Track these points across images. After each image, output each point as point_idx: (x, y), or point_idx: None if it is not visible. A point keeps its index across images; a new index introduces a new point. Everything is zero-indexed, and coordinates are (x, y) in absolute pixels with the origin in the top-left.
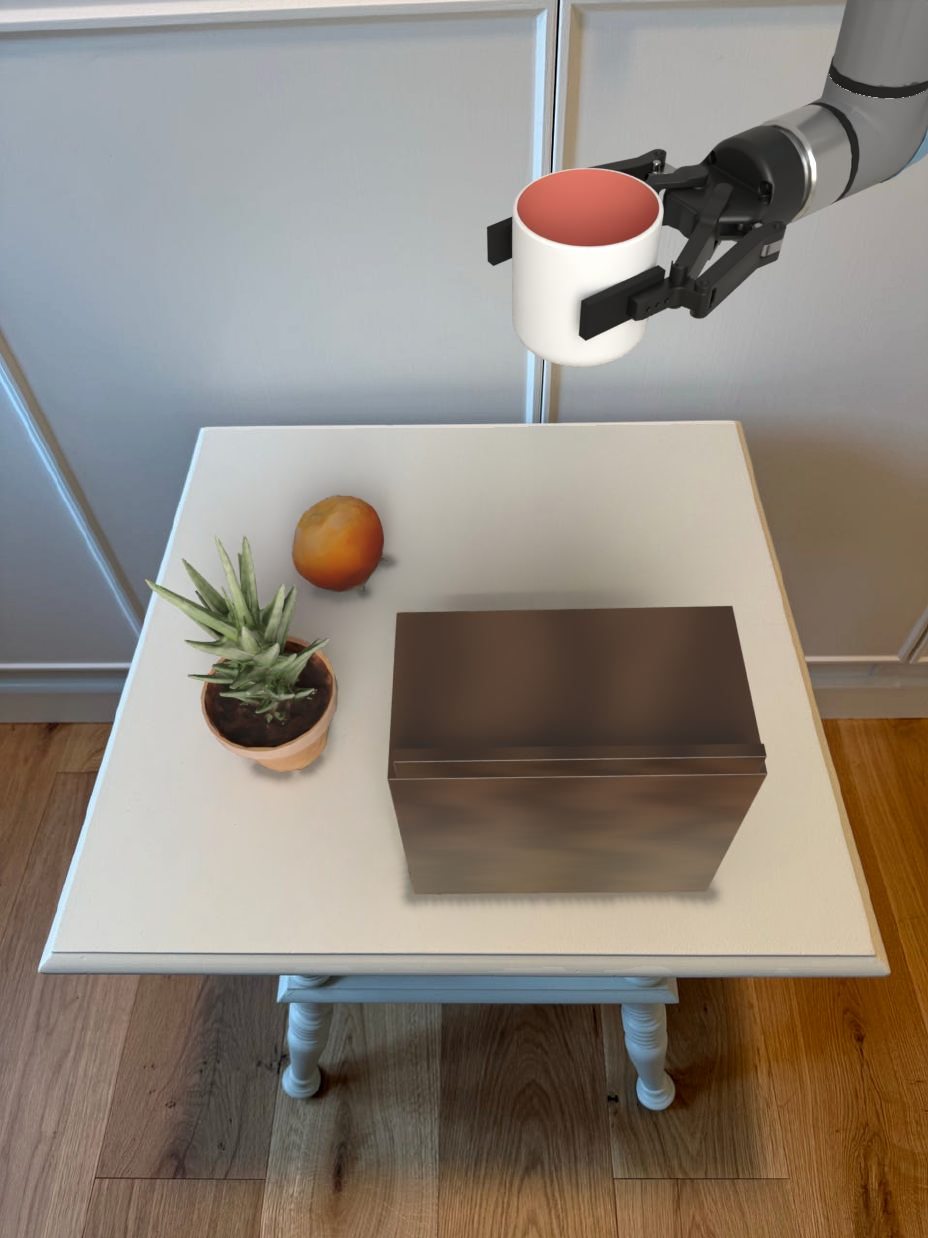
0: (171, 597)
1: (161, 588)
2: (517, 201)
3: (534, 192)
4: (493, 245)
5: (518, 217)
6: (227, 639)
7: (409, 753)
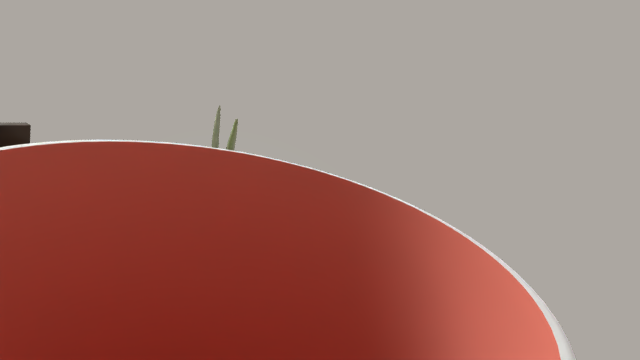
0: (228, 140)
1: (232, 131)
2: (418, 210)
3: (491, 305)
4: None
5: (346, 179)
6: None
7: (18, 124)
